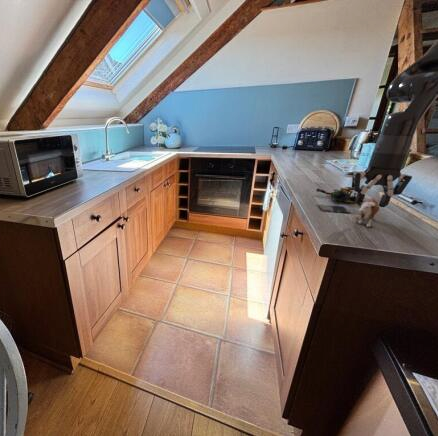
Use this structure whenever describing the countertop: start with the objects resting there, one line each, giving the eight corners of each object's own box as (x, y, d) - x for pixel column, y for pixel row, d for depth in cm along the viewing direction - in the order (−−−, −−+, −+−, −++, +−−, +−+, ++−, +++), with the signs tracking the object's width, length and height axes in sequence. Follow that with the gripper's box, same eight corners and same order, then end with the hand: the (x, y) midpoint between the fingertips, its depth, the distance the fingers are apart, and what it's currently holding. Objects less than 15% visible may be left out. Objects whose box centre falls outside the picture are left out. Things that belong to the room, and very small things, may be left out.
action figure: (348, 194, 108) (377, 205, 94) (314, 194, 108) (338, 205, 94) (352, 182, 105) (382, 191, 91) (317, 182, 106) (342, 191, 92)
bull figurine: (350, 226, 77) (358, 202, 73) (360, 215, 85) (367, 193, 82) (368, 231, 74) (377, 205, 70) (376, 219, 82) (385, 196, 78)
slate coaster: (342, 207, 92) (342, 206, 92) (349, 213, 87) (349, 212, 87) (318, 205, 95) (318, 204, 95) (323, 210, 89) (323, 209, 89)
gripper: (413, 150, 72) (391, 204, 79) (355, 148, 76) (339, 199, 83) (431, 154, 66) (405, 212, 72) (366, 151, 70) (347, 206, 76)
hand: (369, 205), depth 78 cm, fingers closed on bull figurine, 5 cm apart
